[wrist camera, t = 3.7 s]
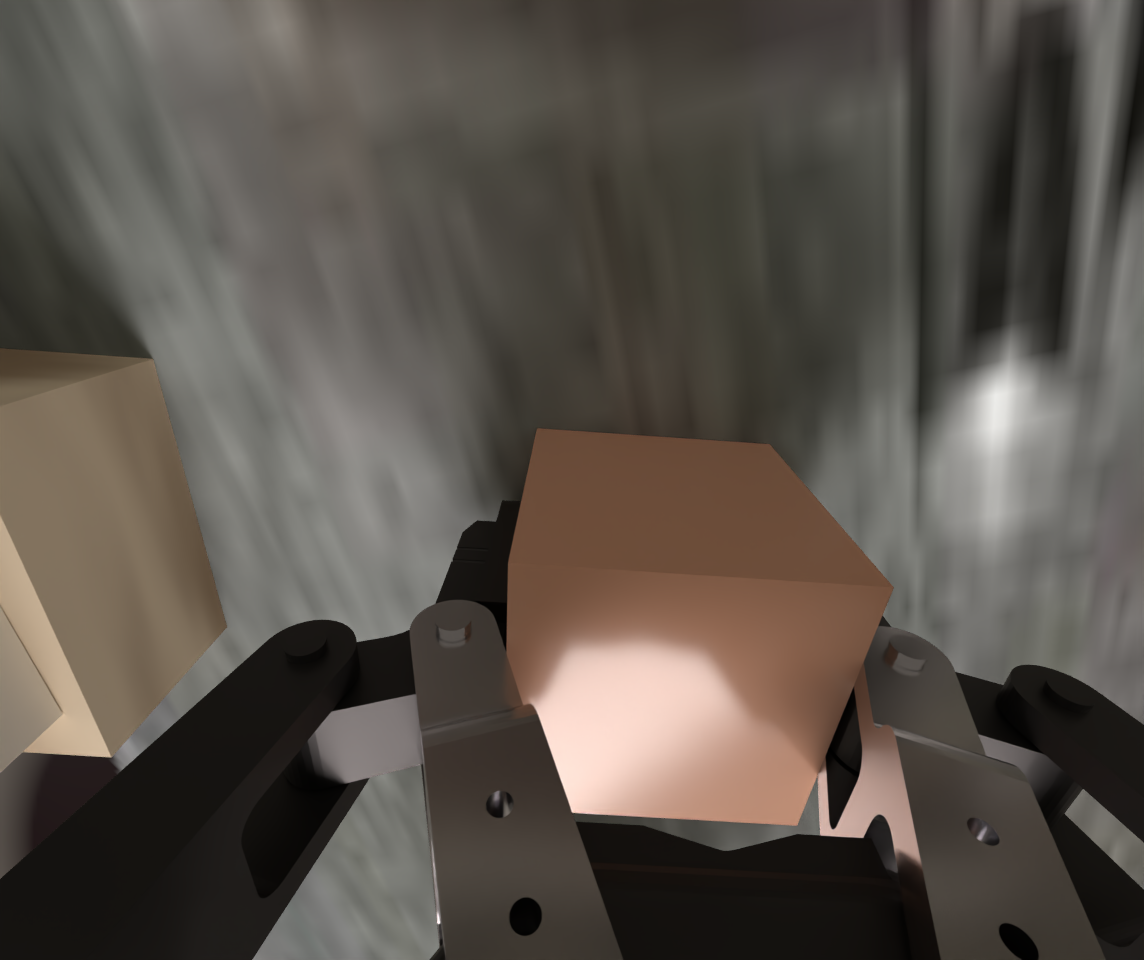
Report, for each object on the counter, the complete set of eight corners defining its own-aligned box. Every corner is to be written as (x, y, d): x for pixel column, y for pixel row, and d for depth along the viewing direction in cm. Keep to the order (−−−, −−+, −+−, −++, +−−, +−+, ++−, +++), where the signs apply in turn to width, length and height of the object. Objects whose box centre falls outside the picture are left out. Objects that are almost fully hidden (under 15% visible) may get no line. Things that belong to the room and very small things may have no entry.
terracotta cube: (769, 444, 11) (893, 587, 7) (725, 625, 14) (796, 825, 9) (537, 427, 11) (507, 562, 7) (529, 613, 13) (503, 809, 9)
